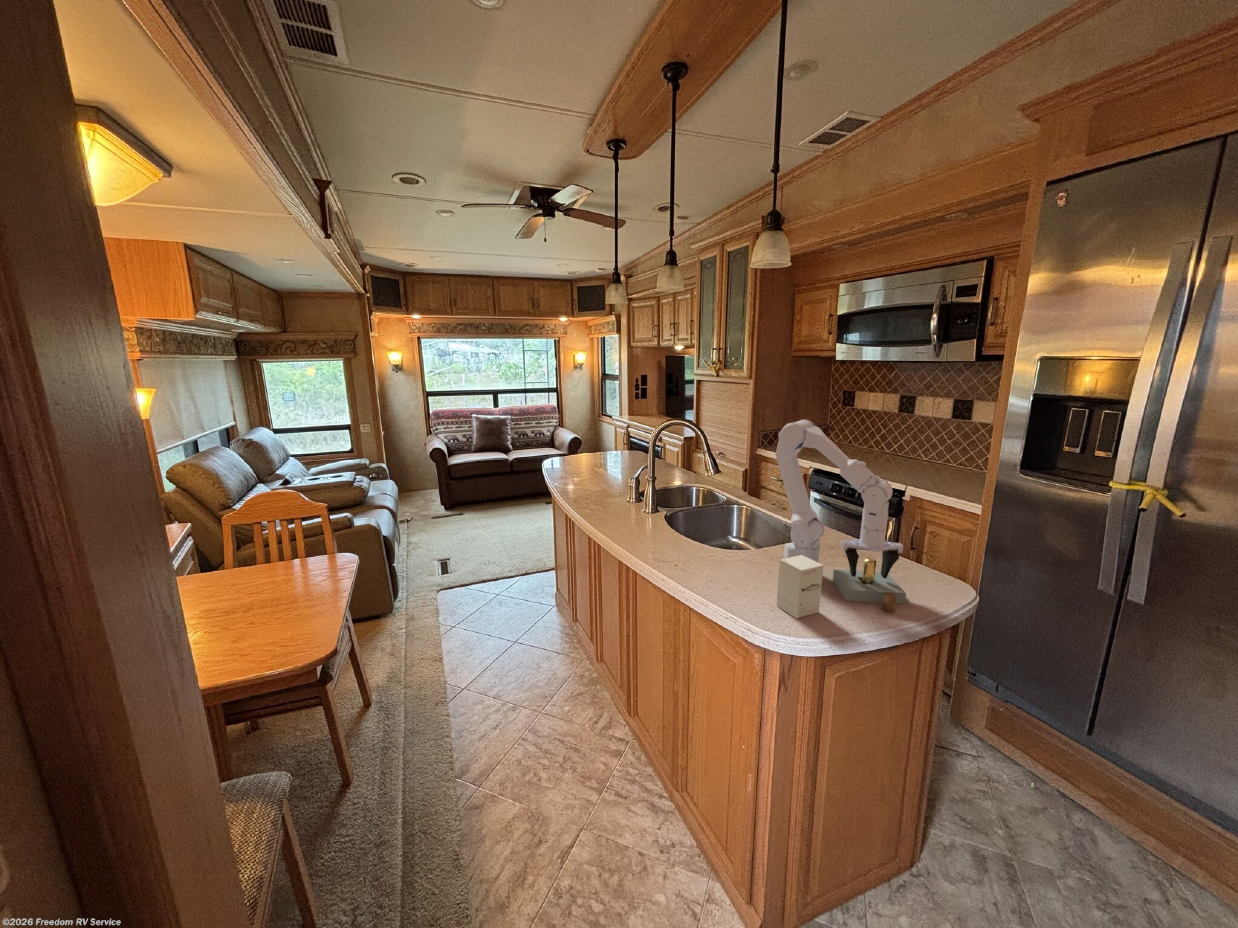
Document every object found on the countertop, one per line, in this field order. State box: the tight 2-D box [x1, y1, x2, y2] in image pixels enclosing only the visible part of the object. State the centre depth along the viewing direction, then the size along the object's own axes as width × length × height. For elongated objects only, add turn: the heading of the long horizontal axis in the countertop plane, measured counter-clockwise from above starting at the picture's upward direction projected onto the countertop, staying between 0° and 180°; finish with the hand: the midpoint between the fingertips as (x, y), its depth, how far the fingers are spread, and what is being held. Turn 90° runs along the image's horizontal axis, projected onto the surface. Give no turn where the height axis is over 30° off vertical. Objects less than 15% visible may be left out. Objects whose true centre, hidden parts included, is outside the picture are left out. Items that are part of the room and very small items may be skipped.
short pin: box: [881, 592, 897, 614], centre depth 119 cm, size 3×3×4 cm
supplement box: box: [776, 555, 824, 619], centre depth 119 cm, size 7×7×13 cm
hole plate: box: [832, 569, 907, 605], centre depth 129 cm, size 14×12×3 cm
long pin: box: [862, 557, 877, 585], centre depth 128 cm, size 3×3×9 cm
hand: (868, 575), depth 128 cm, fingers open, 7 cm apart
